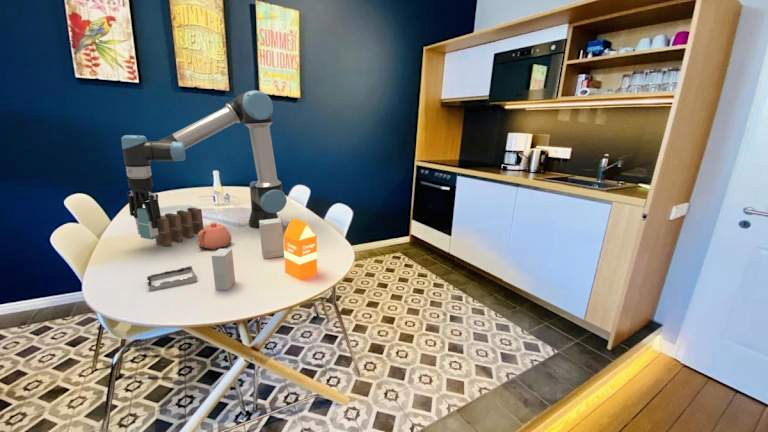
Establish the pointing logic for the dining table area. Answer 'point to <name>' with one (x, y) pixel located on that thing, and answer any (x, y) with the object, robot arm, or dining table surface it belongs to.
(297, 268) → the orange juice
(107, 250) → the dining table surface
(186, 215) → the domino
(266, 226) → the skincare box
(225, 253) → the skincare box
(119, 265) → the dining table surface
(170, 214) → the domino
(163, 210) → the serving bowl
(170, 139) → the robot arm
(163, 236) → the domino
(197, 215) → the domino
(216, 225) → the sugar bowl
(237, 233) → the dining table surface
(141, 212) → the domino
